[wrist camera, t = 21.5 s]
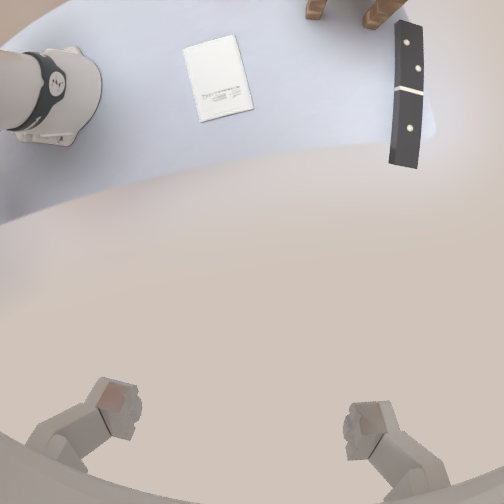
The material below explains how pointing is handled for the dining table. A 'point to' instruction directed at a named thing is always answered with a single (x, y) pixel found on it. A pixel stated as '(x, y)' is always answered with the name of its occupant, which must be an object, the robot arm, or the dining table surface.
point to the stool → (372, 19)
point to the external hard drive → (217, 78)
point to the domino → (407, 95)
